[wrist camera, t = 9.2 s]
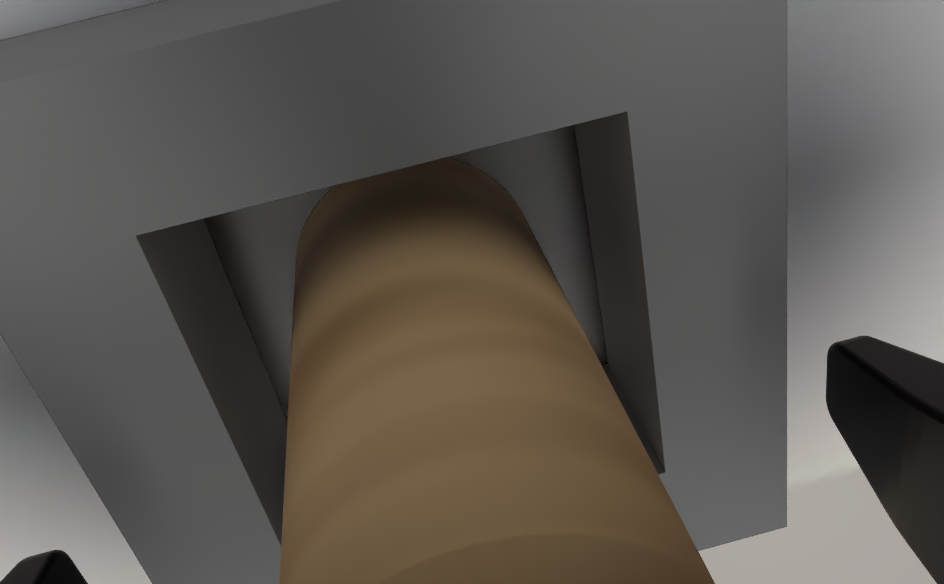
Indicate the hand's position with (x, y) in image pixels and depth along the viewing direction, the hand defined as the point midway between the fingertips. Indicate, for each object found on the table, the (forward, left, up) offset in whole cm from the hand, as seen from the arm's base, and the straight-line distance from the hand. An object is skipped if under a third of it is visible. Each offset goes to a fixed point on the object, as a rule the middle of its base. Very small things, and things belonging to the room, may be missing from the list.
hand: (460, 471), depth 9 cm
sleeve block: (0, 0, -5) cm, 5 cm away
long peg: (0, 0, -5) cm, 5 cm away
